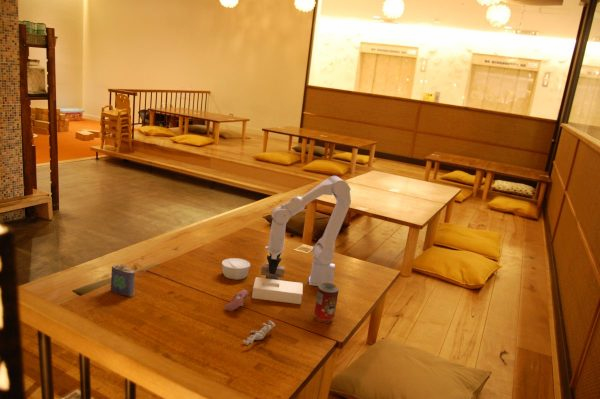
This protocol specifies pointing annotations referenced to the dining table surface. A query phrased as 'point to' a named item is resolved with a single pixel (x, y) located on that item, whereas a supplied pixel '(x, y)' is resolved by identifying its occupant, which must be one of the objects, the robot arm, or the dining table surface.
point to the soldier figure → (259, 333)
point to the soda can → (326, 302)
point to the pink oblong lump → (237, 300)
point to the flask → (122, 281)
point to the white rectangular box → (277, 290)
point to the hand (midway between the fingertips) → (272, 270)
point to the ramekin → (235, 268)
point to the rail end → (272, 276)
